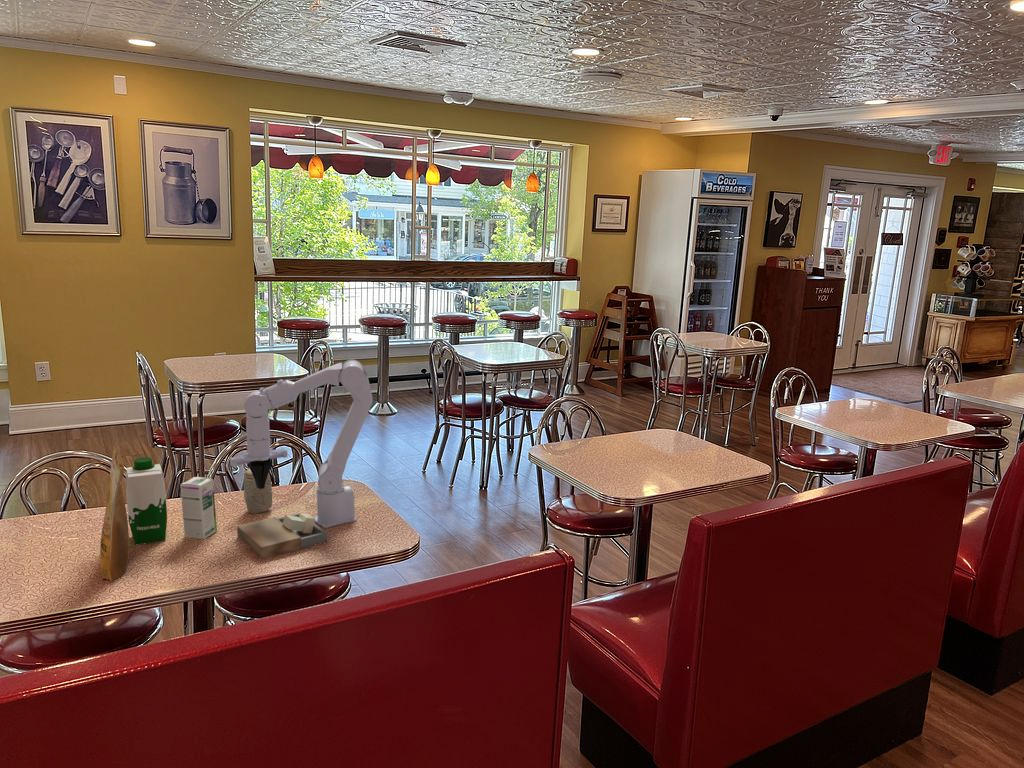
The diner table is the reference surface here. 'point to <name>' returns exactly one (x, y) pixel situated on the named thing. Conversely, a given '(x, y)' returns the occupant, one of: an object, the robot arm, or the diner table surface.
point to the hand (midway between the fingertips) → (260, 487)
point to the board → (268, 537)
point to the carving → (257, 494)
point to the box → (310, 535)
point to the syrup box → (198, 507)
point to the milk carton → (146, 501)
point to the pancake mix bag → (115, 525)
